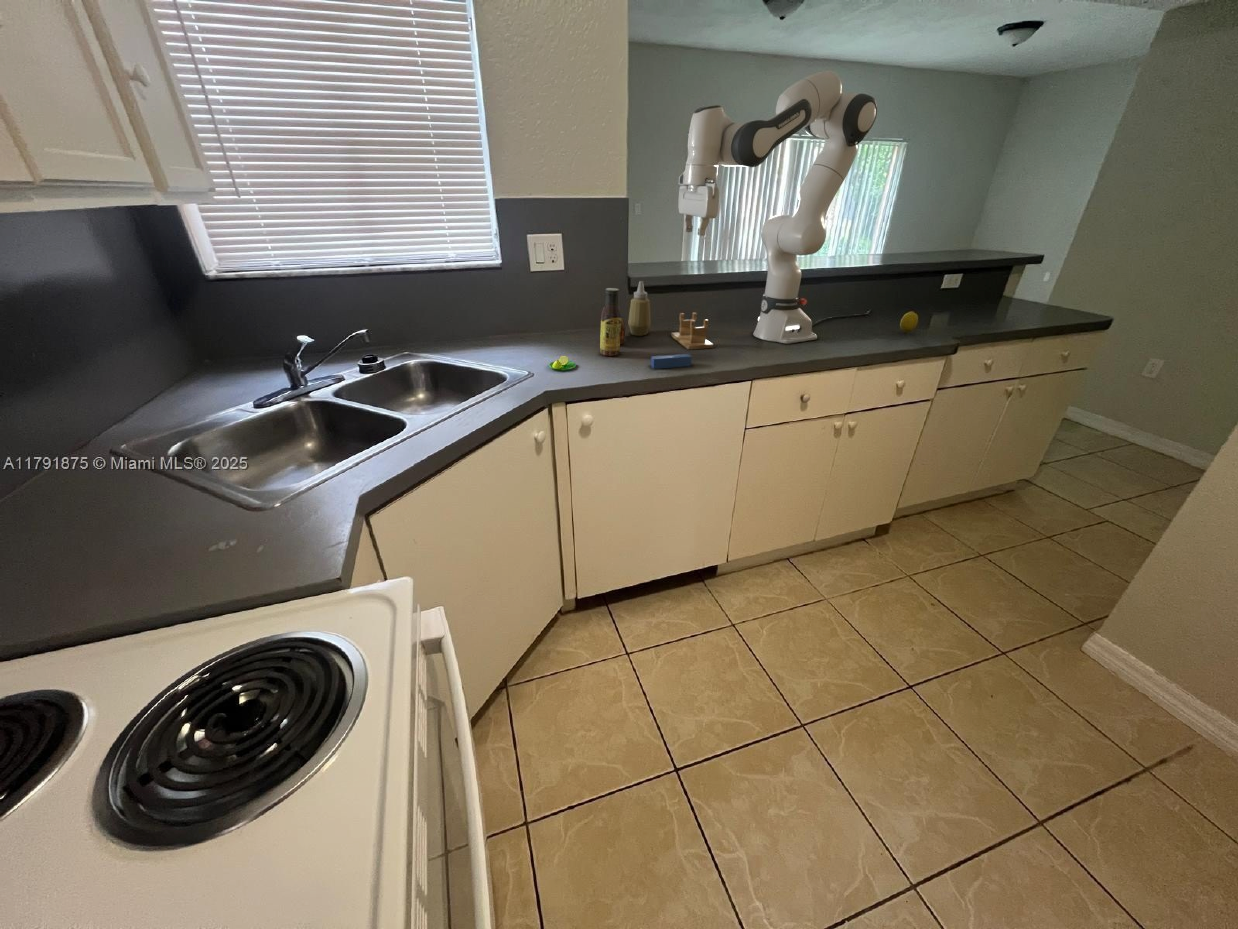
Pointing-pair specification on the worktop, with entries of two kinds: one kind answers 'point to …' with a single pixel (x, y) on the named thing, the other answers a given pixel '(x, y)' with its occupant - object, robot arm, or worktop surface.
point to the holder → (692, 334)
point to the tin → (622, 332)
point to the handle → (671, 361)
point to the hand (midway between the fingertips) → (694, 233)
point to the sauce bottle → (610, 324)
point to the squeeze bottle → (639, 312)
